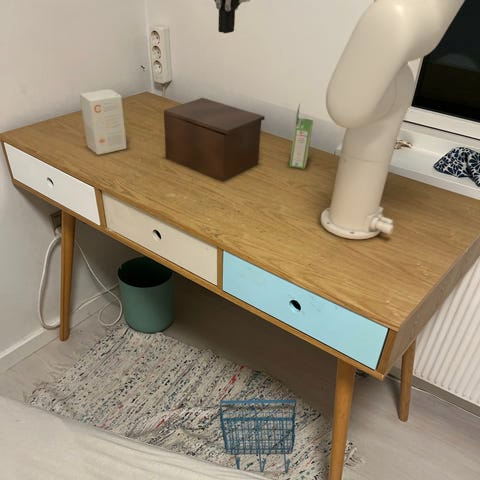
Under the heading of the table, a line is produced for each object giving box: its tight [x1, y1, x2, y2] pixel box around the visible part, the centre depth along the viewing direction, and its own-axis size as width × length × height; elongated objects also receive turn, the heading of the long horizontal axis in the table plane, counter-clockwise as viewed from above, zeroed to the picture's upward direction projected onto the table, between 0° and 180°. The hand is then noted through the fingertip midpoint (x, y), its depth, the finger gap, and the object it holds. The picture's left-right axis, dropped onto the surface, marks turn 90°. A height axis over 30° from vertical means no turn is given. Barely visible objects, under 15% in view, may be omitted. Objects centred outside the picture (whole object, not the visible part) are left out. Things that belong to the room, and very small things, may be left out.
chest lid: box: [163, 97, 265, 134], centre depth 118 cm, size 19×14×1 cm
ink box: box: [289, 103, 314, 170], centre depth 123 cm, size 7×4×13 cm, turn 168°
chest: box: [163, 113, 262, 182], centre depth 122 cm, size 19×14×11 cm
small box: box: [79, 88, 127, 156], centre depth 124 cm, size 8×6×13 cm
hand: (226, 31), depth 105 cm, fingers closed
